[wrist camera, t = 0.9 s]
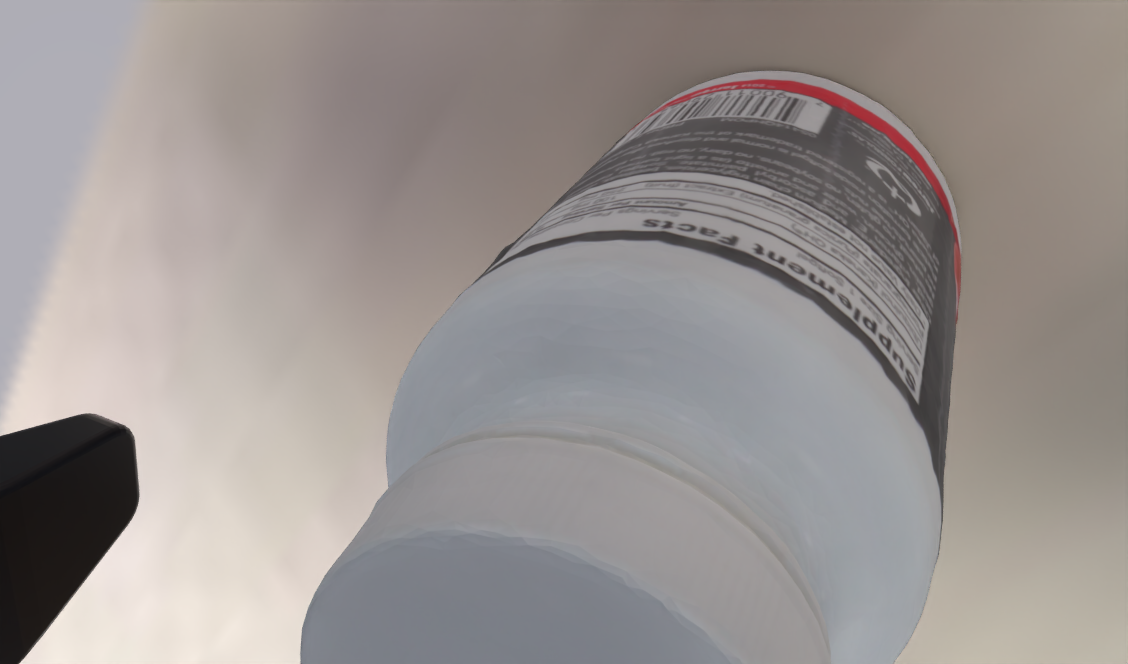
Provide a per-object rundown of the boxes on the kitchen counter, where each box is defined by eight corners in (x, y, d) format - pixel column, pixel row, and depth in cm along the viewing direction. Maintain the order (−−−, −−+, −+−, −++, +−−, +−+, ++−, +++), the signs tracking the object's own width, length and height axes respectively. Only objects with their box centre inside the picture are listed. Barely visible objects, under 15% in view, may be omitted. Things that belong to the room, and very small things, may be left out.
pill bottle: (840, 455, 17) (687, 1091, 9) (553, 291, 17) (160, 749, 9) (1051, 179, 14) (1108, 764, 6) (694, -10, 14) (294, 287, 6)
